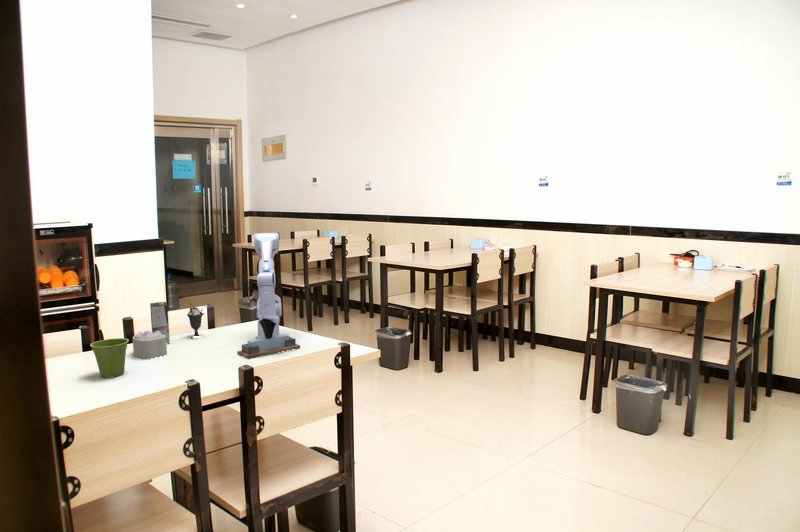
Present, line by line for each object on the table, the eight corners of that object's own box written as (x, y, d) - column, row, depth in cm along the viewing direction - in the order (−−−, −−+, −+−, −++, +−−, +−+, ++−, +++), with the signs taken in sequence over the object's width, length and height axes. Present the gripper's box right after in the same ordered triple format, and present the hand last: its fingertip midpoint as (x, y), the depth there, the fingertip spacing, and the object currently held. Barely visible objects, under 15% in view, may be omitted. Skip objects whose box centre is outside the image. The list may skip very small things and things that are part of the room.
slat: (248, 351, 229) (247, 340, 228) (285, 343, 239) (285, 333, 238) (251, 352, 226) (251, 342, 226) (289, 345, 237) (289, 335, 236)
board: (237, 354, 229) (236, 344, 229) (288, 344, 243) (288, 335, 243) (248, 359, 222) (247, 349, 222) (300, 348, 236) (300, 339, 236)
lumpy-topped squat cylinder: (144, 360, 222) (142, 337, 221) (127, 354, 231) (125, 332, 230) (170, 354, 230) (169, 332, 229) (153, 349, 239) (152, 327, 237)
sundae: (184, 338, 255) (182, 303, 253) (196, 335, 261) (194, 300, 259) (196, 340, 252) (194, 304, 250) (208, 336, 258) (206, 301, 256)
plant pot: (120, 367, 214) (118, 336, 212) (137, 373, 206) (135, 341, 205) (86, 375, 204) (83, 343, 203) (102, 382, 197) (99, 348, 196)
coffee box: (170, 343, 246) (167, 305, 244) (153, 345, 244) (150, 306, 242) (168, 339, 254) (166, 301, 252) (152, 340, 252) (149, 302, 250)
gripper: (248, 302, 233) (250, 336, 235) (267, 307, 222) (268, 343, 224) (265, 299, 238) (266, 333, 239) (284, 304, 227) (285, 340, 228)
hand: (268, 338), depth 232 cm, fingers closed, pressing on slat
